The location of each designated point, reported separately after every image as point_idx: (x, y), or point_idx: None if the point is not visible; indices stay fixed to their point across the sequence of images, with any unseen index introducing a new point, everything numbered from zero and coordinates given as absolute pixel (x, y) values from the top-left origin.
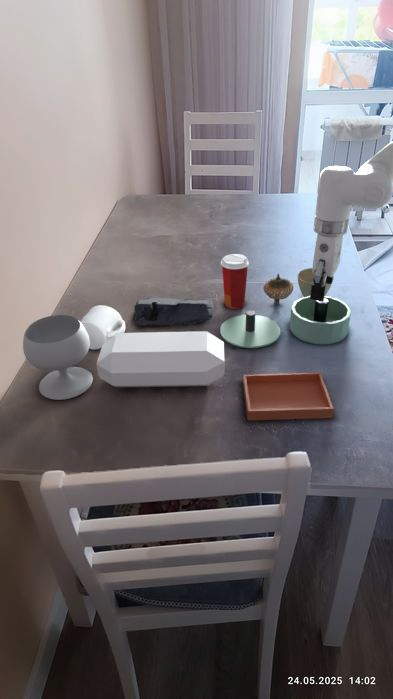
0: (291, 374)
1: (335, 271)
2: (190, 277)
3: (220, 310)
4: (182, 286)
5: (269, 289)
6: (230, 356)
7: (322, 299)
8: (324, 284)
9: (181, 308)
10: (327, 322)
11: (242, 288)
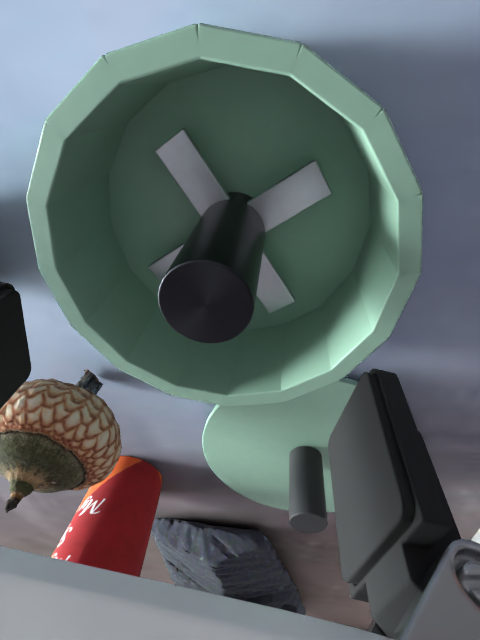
0: None
1: (172, 619)
2: (35, 544)
3: (182, 499)
4: None
5: (101, 479)
6: (443, 482)
7: (396, 387)
8: (455, 567)
9: (244, 591)
10: (401, 235)
11: (123, 534)
